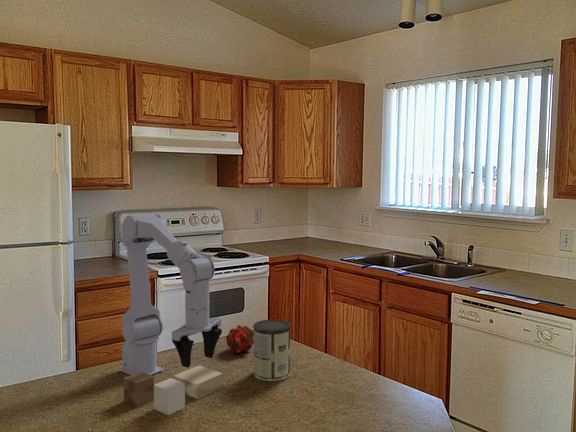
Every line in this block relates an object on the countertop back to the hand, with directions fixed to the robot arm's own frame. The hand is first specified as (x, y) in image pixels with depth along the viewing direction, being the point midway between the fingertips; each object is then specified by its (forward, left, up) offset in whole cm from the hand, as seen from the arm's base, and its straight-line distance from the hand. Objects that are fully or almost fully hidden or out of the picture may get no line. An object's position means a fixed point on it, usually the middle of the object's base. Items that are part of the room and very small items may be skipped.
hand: (197, 361), depth 126 cm
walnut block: (-11, -9, -10) cm, 17 cm away
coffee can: (+4, +24, -10) cm, 26 cm away
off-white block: (-2, -7, -10) cm, 12 cm away
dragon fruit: (-15, +32, -10) cm, 36 cm away
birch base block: (-5, +5, -10) cm, 12 cm away
